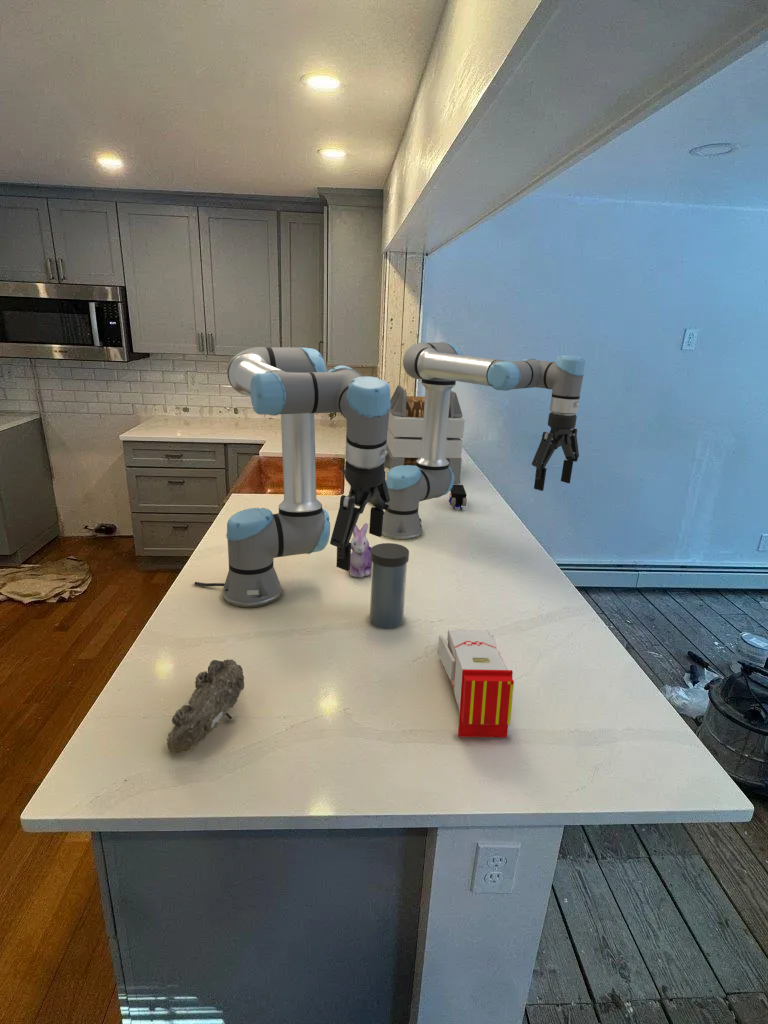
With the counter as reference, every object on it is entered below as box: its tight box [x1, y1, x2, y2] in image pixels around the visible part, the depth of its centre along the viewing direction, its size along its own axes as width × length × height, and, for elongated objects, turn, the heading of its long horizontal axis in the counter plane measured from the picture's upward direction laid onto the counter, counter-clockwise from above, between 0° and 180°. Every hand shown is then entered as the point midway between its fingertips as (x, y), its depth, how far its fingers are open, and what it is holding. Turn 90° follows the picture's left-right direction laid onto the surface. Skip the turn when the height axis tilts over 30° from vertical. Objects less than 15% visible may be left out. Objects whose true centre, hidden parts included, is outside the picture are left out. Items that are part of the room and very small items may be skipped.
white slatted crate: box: [384, 384, 465, 484], centre depth 268 cm, size 34×33×41 cm
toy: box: [437, 628, 515, 738], centre depth 117 cm, size 12×13×30 cm
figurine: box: [348, 522, 372, 578], centre depth 167 cm, size 9×10×15 cm
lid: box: [370, 542, 410, 567], centre depth 138 cm, size 9×9×2 cm
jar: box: [369, 562, 408, 630], centre depth 141 cm, size 9×9×19 cm
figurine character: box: [448, 483, 468, 511], centre depth 230 cm, size 7×8×15 cm
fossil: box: [166, 658, 245, 754], centre depth 106 cm, size 22×10×15 cm
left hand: (359, 550), depth 118 cm, fingers open, 13 cm apart
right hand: (552, 485), depth 166 cm, fingers open, 13 cm apart
